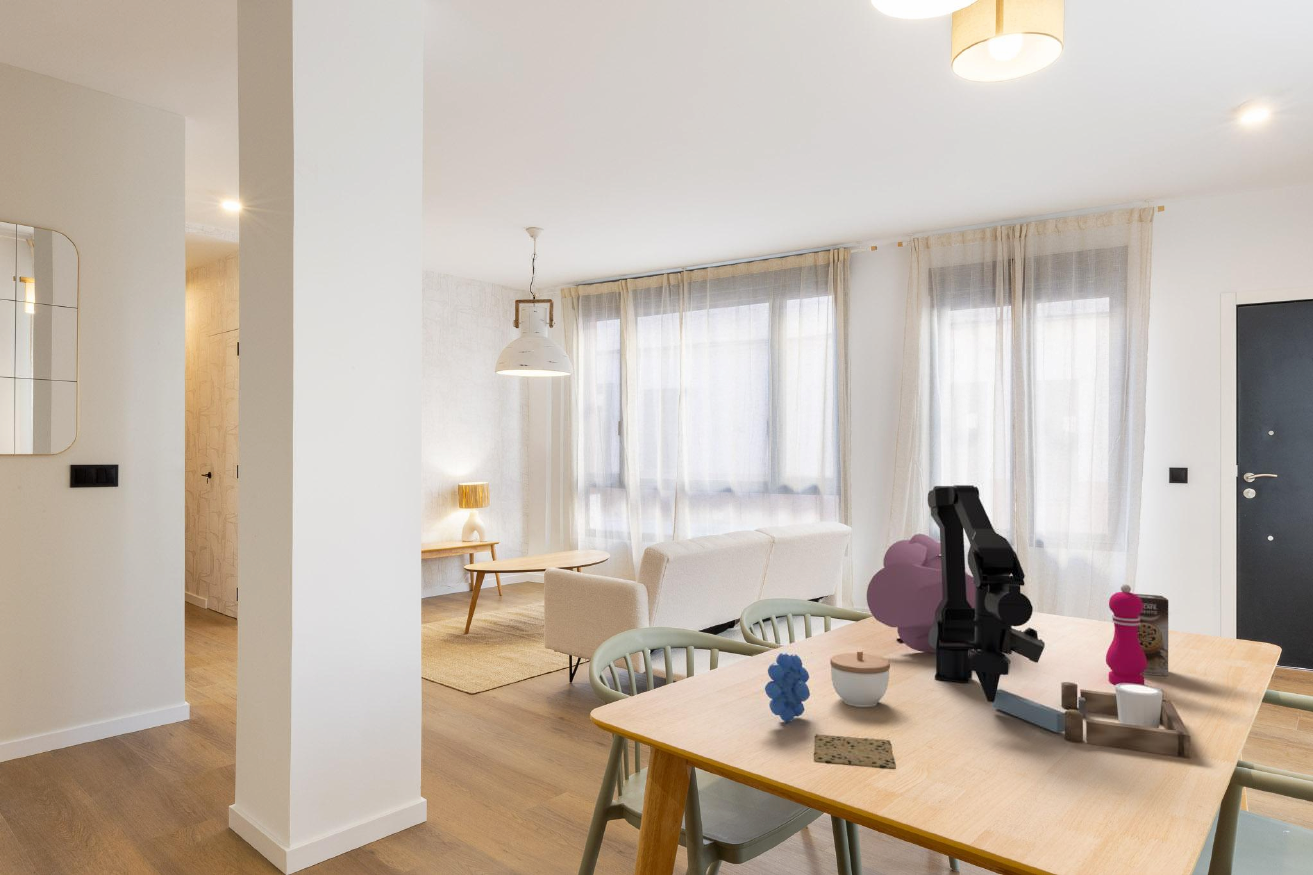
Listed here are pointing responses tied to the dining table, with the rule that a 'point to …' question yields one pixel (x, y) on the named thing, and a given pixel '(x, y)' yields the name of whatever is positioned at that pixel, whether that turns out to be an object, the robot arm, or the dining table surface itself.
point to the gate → (1030, 711)
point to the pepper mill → (1126, 639)
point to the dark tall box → (1154, 633)
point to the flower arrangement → (911, 590)
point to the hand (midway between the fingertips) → (991, 701)
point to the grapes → (787, 686)
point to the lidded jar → (860, 678)
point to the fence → (1118, 734)
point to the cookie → (854, 751)
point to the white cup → (1138, 704)
